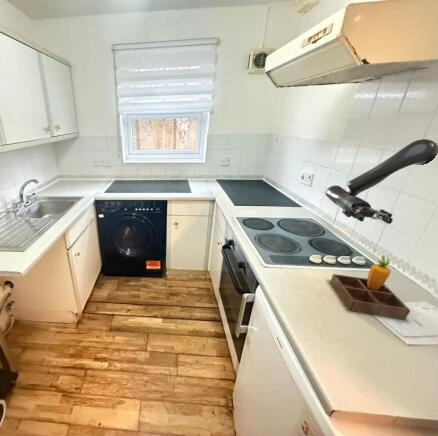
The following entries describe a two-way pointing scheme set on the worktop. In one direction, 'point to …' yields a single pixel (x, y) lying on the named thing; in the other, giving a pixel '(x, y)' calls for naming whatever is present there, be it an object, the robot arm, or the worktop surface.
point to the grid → (368, 297)
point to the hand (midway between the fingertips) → (376, 220)
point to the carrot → (378, 274)
